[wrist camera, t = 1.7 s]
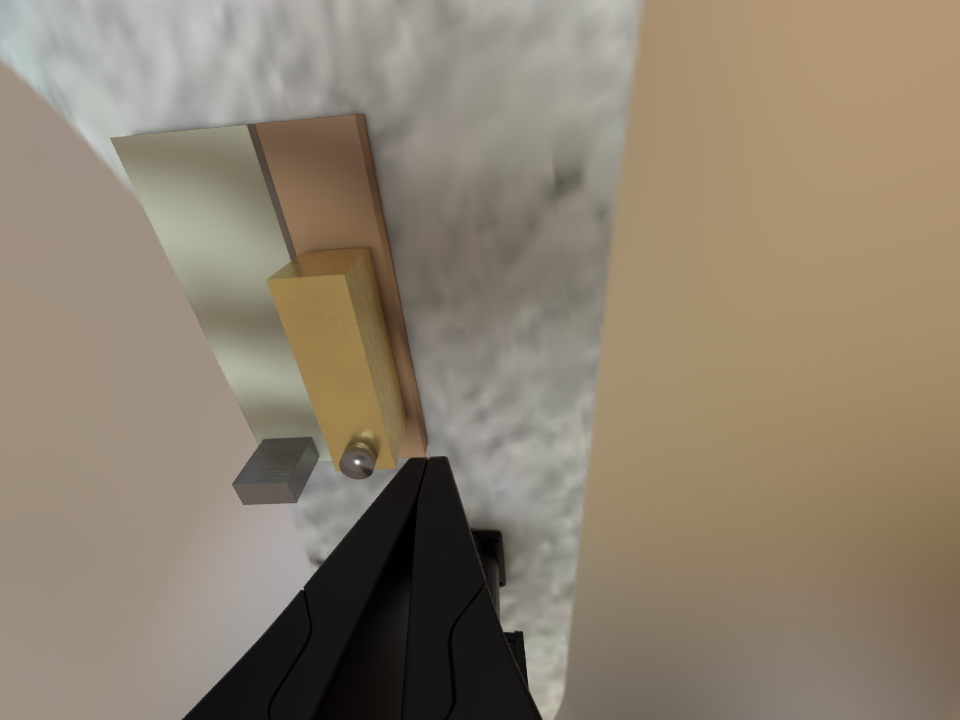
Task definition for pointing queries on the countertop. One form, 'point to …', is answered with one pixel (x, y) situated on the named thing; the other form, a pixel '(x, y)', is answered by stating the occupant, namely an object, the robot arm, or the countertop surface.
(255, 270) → the door board
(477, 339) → the countertop surface
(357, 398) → the latch bar
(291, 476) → the stop block
